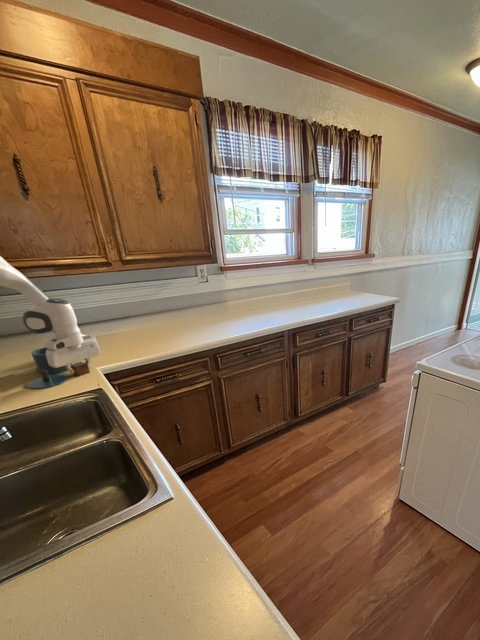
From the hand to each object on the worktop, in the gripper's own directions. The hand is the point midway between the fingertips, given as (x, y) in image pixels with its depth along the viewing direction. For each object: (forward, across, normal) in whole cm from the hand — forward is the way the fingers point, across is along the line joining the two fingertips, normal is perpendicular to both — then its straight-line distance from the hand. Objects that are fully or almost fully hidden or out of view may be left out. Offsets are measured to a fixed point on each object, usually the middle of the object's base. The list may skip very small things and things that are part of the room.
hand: (80, 370), depth 141 cm
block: (+2, 0, 0) cm, 2 cm away
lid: (+1, +12, -3) cm, 12 cm away
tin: (+2, +2, -15) cm, 15 cm away
